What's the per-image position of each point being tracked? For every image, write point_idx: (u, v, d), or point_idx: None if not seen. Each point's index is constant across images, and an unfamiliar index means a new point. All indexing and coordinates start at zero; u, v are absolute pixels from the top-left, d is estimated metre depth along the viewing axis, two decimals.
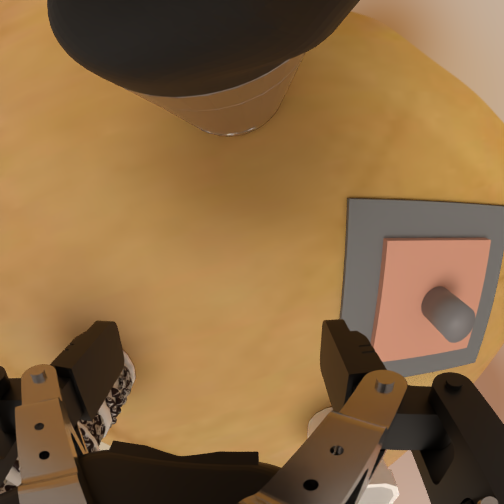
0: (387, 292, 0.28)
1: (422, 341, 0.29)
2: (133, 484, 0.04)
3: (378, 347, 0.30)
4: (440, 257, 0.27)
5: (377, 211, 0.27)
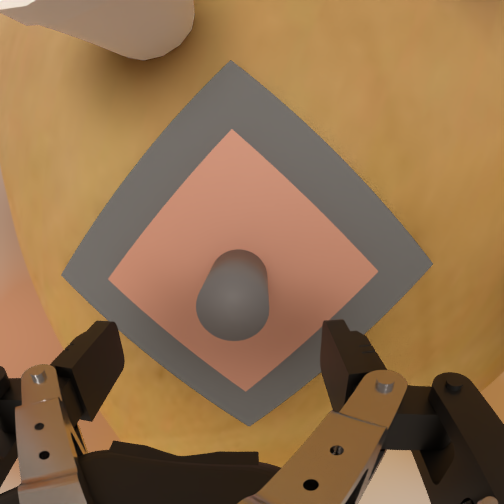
0: (323, 225, 0.19)
1: (191, 222, 0.20)
2: (133, 484, 0.04)
3: (249, 157, 0.19)
4: (296, 319, 0.21)
5: (400, 281, 0.21)
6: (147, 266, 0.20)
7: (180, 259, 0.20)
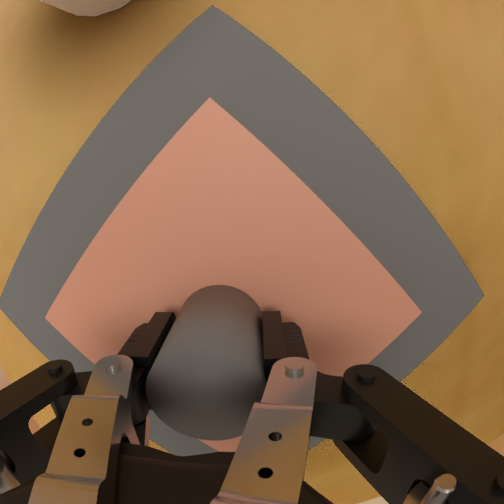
0: (350, 249, 0.12)
1: (147, 243, 0.12)
2: (133, 484, 0.04)
3: (236, 140, 0.11)
4: None
5: (445, 320, 0.14)
6: (91, 304, 0.13)
7: (134, 297, 0.13)
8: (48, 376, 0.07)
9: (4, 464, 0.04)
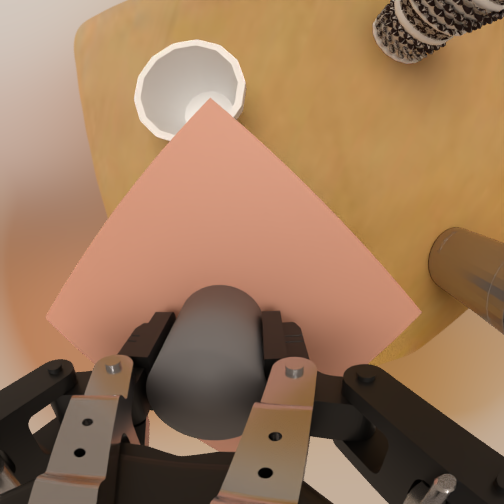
0: (350, 249, 0.12)
1: (147, 243, 0.12)
2: (133, 484, 0.04)
3: (237, 140, 0.12)
4: None
5: None
6: (91, 304, 0.13)
7: (135, 297, 0.13)
8: (48, 376, 0.07)
9: (4, 464, 0.04)
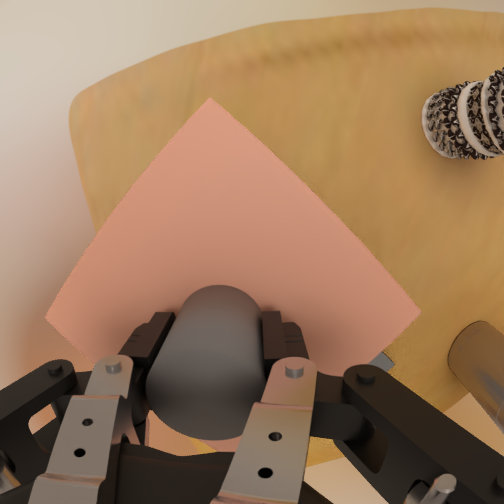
0: (350, 249, 0.12)
1: (147, 243, 0.12)
2: (133, 484, 0.04)
3: (236, 140, 0.11)
4: None
5: None
6: (91, 304, 0.13)
7: (134, 297, 0.13)
8: (48, 376, 0.07)
9: (4, 464, 0.04)
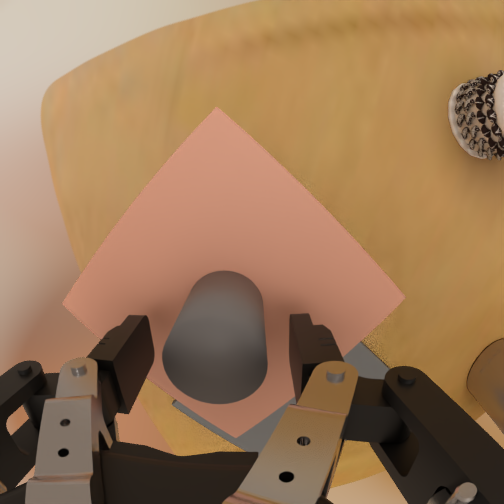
0: (339, 239, 0.14)
1: (161, 234, 0.14)
2: (133, 484, 0.04)
3: (240, 144, 0.13)
4: None
5: None
6: (107, 290, 0.15)
7: (148, 282, 0.15)
8: (19, 377, 0.07)
9: None
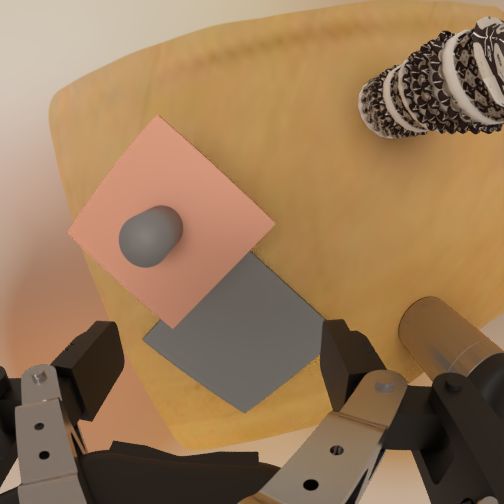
0: (225, 185, 0.25)
1: (126, 185, 0.24)
2: (133, 484, 0.04)
3: (168, 134, 0.23)
4: (208, 263, 0.26)
5: None
6: (95, 221, 0.25)
7: (119, 214, 0.25)
8: None
9: None
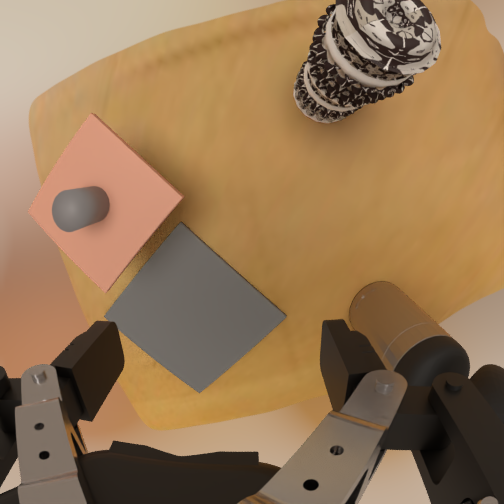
0: (140, 167, 0.28)
1: (69, 171, 0.28)
2: (133, 484, 0.04)
3: (99, 128, 0.27)
4: (129, 233, 0.29)
5: (268, 324, 0.46)
6: (47, 201, 0.28)
7: None
8: None
9: None
